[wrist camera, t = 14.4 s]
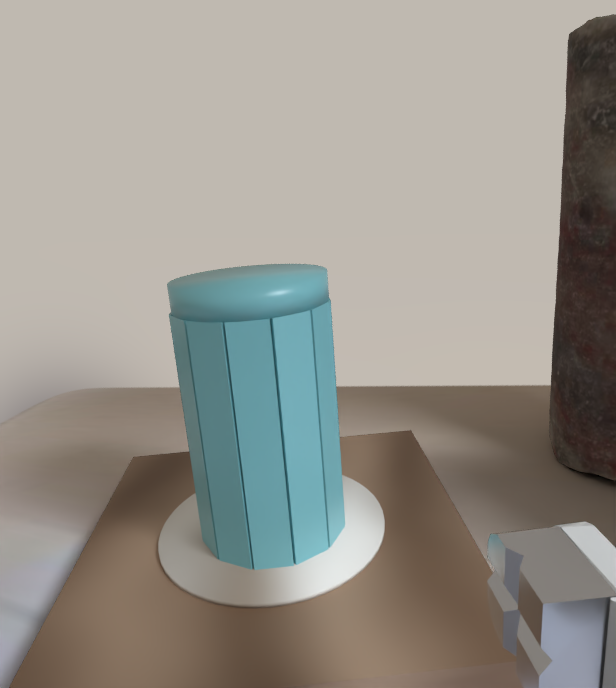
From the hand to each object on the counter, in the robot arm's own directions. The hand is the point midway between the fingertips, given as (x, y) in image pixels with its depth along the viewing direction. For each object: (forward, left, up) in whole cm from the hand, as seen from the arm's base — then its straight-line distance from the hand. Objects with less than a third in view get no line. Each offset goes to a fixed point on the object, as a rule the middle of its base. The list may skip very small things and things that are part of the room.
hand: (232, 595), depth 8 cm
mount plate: (0, -12, -8) cm, 15 cm away
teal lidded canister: (0, -12, -7) cm, 14 cm away
